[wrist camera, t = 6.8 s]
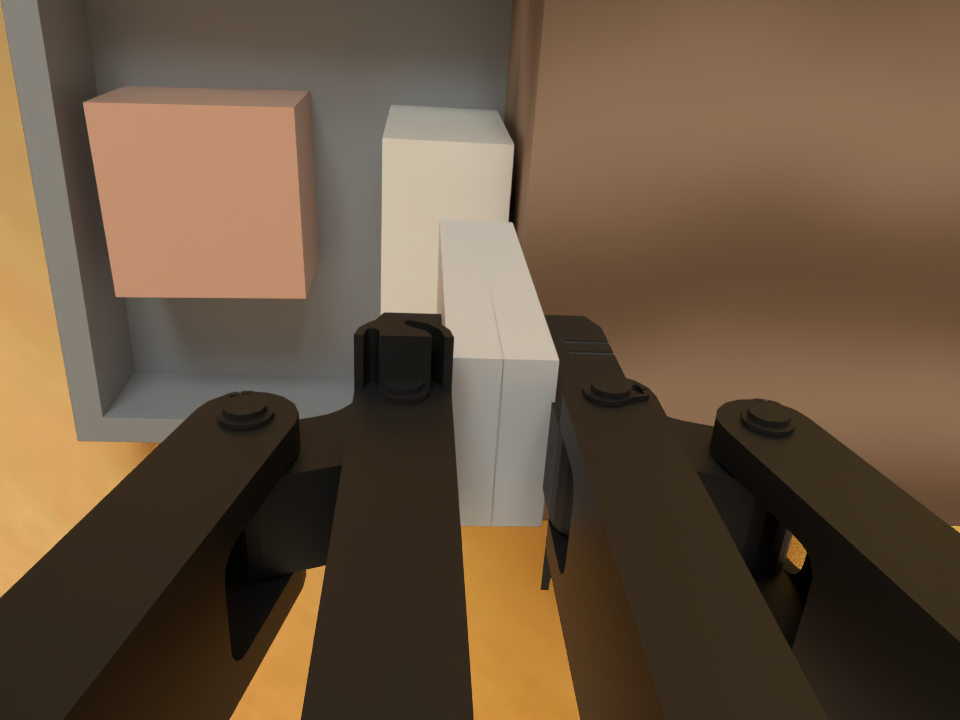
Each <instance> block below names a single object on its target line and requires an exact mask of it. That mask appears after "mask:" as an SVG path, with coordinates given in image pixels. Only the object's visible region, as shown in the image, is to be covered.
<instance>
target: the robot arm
mask: <svg viewBox="0 0 960 720" xmlns="http://www.w3.org/2000/svg"><path fill="white" fill-rule="evenodd" d="M544 498H545V501H546V506H547V510H548V515H549V521H548V530H547V538H546V547H545V556H544V565H543V574H542V583H541V590H549V583H550V579H551V578H552V582H553V587H554V592H555V597H556V602H557V607H558V612H559V616H560V621H561V626H562V631H563V636H564V641H565V646H566V651H567V656H568V661H569V666H570V671H571V676H572V681H573V686H574V691H575V696H576V701H577V705H578V710H579V715H580V720H960V533H959V532H958V531H956V530H955V529H954V528H952V527H951V526H950V525H948V524H947V523H946V522H944V521H943V520H942V519H941V518H939V517H938V516H937V515H935V514H934V513H933V512H931V511H930V510H929V509H927V508H926V507H925V506H924V505H922V504H921V503H920V502H918V501H917V500H916V499H914V498H913V497H912V496H910V495H909V494H908V493H907V492H905V491H904V490H903V489H901V488H900V487H899V486H897V485H896V484H895V483H893V482H892V481H891V480H890V479H888V478H887V477H886V476H884V475H883V474H882V473H880V472H879V471H878V470H876V469H875V468H874V467H873V466H871V465H870V464H869V463H867V462H866V461H865V460H863V459H862V458H861V457H859V456H858V455H857V454H856V453H854V452H853V451H852V450H850V449H849V448H848V447H846V446H845V445H844V444H842V443H841V442H840V441H839V440H837V439H836V438H835V437H833V436H832V435H831V434H829V433H828V432H827V431H825V430H824V429H823V428H822V427H820V426H819V425H818V424H816V423H815V422H814V421H812V420H811V419H810V418H808V417H807V416H805V415H803V414H802V413H800V412H798V411H796V410H795V409H792V408H789V407H787V406H784V405H781V404H780V403H779V402H776V401H772V400H767V401H765V399H758V398H754V399H738V400H734V401H730V402H726V403H724V404H723V405H722V406H721V407H719V408H718V409H717V413H716V418H715V423H714V426H709V425H704V424H698V423H693V422H688V421H683V420H679V419H675V418H671V417H668V416H667V415H666V413H665V411H664V409H663V408H662V406H661V404H660V402H659V400H658V398H657V396H656V395H655V394H654V393H653V392H652V391H651V390H650V389H649V388H648V387H646V386H644V385H643V384H641V383H639V382H637V381H635V380H631V379H628V378H626V377H625V375H624V373H623V371H622V369H621V367H620V365H619V363H618V361H617V359H616V357H615V355H613V350H612V348H611V346H610V344H608V340H607V338H606V336H605V334H604V332H603V330H602V328H601V327H600V326H598V325H597V324H595V323H594V322H592V321H591V320H590V319H588V318H587V317H585V316H571V315H544V314H543V311H542V308H541V305H540V302H539V299H538V296H537V293H536V290H535V287H534V284H533V281H532V278H531V275H530V273H529V270H528V267H527V264H526V261H525V258H524V255H523V252H522V249H521V246H520V243H519V240H518V237H517V234H516V231H515V228H514V225H513V222H490V221H464V220H440V224H439V252H438V280H437V309H436V314H426V313H391V312H384V313H383V314H382V315H380V316H379V317H378V318H377V319H376V320H374V321H370V322H368V323H366V324H364V325H362V326H360V327H359V328H358V329H357V331H356V332H355V333H354V395H353V401H352V403H351V404H349V405H348V406H346V407H344V408H342V409H340V410H338V411H335V412H332V413H330V414H325V415H321V416H316V417H310V418H304V419H299V412H298V410H297V408H296V406H295V404H294V403H293V402H291V401H290V400H288V399H287V398H285V397H283V396H280V395H276V394H272V393H268V392H255V391H251V390H249V391H241V392H240V393H239V392H238V391H237V392H232V393H228V394H226V395H224V396H221V397H218V398H215V399H212V400H209V401H208V402H206V403H205V404H203V405H202V406H200V407H198V408H197V409H196V410H195V411H194V412H193V413H192V414H191V415H190V416H189V417H188V418H186V419H185V420H184V421H183V422H182V423H181V424H180V425H179V426H178V427H177V428H176V429H175V430H174V431H173V432H172V433H171V434H170V435H169V436H168V437H167V438H166V439H165V440H164V441H163V442H162V443H161V444H160V445H158V446H157V447H156V448H155V449H154V450H153V451H152V452H151V453H150V454H149V455H148V456H147V457H146V458H145V459H144V460H143V461H142V462H141V463H140V464H139V465H138V466H137V467H136V468H135V469H134V470H133V471H132V472H130V473H129V474H128V475H127V476H126V477H125V478H124V479H123V480H122V481H121V482H120V483H119V484H118V485H117V486H116V487H115V488H114V489H113V490H112V491H111V492H110V493H109V494H108V495H107V496H106V497H105V498H104V499H102V500H101V501H100V502H99V503H98V504H97V505H96V506H95V507H94V508H93V509H92V510H91V511H90V512H89V513H88V514H87V515H86V516H85V517H84V518H83V519H82V520H81V521H80V522H79V523H78V524H77V525H76V526H74V527H73V528H72V529H71V530H70V531H69V532H68V533H67V534H66V535H65V536H64V537H63V538H62V539H61V540H60V541H59V542H58V543H57V544H56V545H55V546H54V547H53V548H52V549H51V550H50V551H49V552H48V553H46V554H45V555H44V556H43V557H42V558H41V559H40V560H39V561H38V562H37V563H36V564H35V565H34V566H33V567H32V568H31V569H30V570H29V571H28V572H27V573H26V574H25V575H24V576H23V577H22V578H21V579H20V580H19V581H17V582H16V583H15V584H14V585H13V586H12V587H11V588H10V589H9V590H8V591H7V592H6V593H5V594H4V595H3V596H2V597H1V598H0V720H229V719H230V718H231V716H232V714H233V712H234V710H235V709H236V707H237V705H238V703H239V701H240V700H241V698H242V696H243V694H244V692H245V691H246V689H247V687H248V685H249V683H250V682H251V680H252V678H253V676H254V675H255V673H256V671H257V669H258V667H259V666H260V664H261V662H262V660H263V658H264V657H265V655H266V653H267V651H268V649H269V648H270V646H271V644H272V642H273V640H274V639H275V637H276V635H277V633H278V631H279V630H280V628H281V626H282V624H283V622H284V621H285V619H286V617H287V615H288V613H289V612H290V610H291V608H292V606H293V604H294V603H295V601H296V599H297V597H298V596H299V594H300V592H301V590H302V588H303V585H304V582H305V578H306V569H310V568H315V567H319V566H324V565H326V568H325V574H324V580H323V586H322V593H321V599H320V605H319V611H318V617H317V623H316V630H315V636H314V642H313V648H312V654H311V660H310V667H309V673H308V679H307V685H306V691H305V697H304V704H303V710H302V716H301V720H474V718H473V703H472V688H471V673H470V658H469V643H468V629H467V614H466V599H465V584H464V569H463V554H462V539H461V526H523V527H541V526H542V517H543V508H544ZM792 535H794V536H795V537H796V538H797V539H798V540H799V541H800V543H801V544H802V545H803V547H804V548H805V549H806V552H807V554H806V558H805V561H804V565H803V567H802V569H801V570H800V569H799V568H797V567H796V566H795V565H794V564H793V563H792V562H791V561H790V560H789V559H788V558H787V553H788V549H789V546H790V542H791V538H792Z"/></svg>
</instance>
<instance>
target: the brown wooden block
mask: <svg viewBox="0 0 960 720" xmlns="http://www.w3.org/2000/svg"><path fill="white" fill-rule="evenodd" d="M504 125H505V127H506V129H507V131H508V133H509V135H510V137H511V139H512V141H513V143H514V156H513V169H512V182H511V195H510V207H509V220H508V222H513V225H514V228H515V231H516V234H517V237H518V240H519V243H520V246H521V249H522V252H523V255H524V258H525V261H526V264H527V267H528V270H529V273H530V275H531V278H532V281H533V284H534V287H535V290H536V293H537V296H538V299H539V302H540V305H541V308H542V311H543V314H544V315H571V316H585V317H587V318H588V319H590V320H591V321H592V322H594V323H595V324H597V325H598V326H600V327H601V328H602V330H603V332H604V334H605V336H606V338H607V340H608V344H610V346H611V348H612V350H613V355H615V357H616V359H617V361H618V363H619V365H620V367H621V369H622V371H623V373H624V375H625V377H626V378H628V379H631V380H635V381H637V382H639V383H641V384H643V385H644V386H646V387H648V388H649V389H650V390H651V391H652V392H653V393H654V394H655V395H656V396H657V398H658V400H659V402H660V404H661V406H662V408H663V409H664V411H665V413H666V415H667V416H668V417H671V418H675V419H679V420H683V421H688V422H693V423H698V424H704V425H709V426H714V423H715V418H716V413H717V409H718V408H719V407H721V406H722V405H723V404H724V403H726V402H730V401H734V400H738V399H754V398H758V399H765V401H767V400H772V401H776V402H779V403H780V404H781V405H784V406H787V407H789V408H792V409H795V410H796V411H798V412H800V413H802V414H803V415H805V416H807V417H808V418H810V419H811V420H812V421H814V422H815V423H816V424H818V425H819V426H820V427H822V428H823V429H824V430H825V431H827V432H828V433H829V434H831V435H832V436H833V437H835V438H836V439H837V440H839V441H840V442H841V443H842V444H844V445H845V446H846V447H848V448H849V449H850V450H852V451H853V452H854V453H856V454H857V455H858V456H859V457H861V458H862V459H863V460H865V461H866V462H867V463H869V464H870V465H871V466H873V467H874V468H875V469H876V470H878V471H879V472H880V473H882V474H883V475H884V476H886V477H887V478H888V479H890V480H891V481H892V482H893V483H895V484H896V485H897V486H899V487H900V488H901V489H903V490H904V491H905V492H907V493H908V494H909V495H910V496H912V497H913V498H914V499H916V500H917V501H918V502H920V503H921V504H922V505H924V506H925V507H926V508H927V509H929V510H930V511H931V512H933V513H934V514H935V515H937V516H938V517H939V518H941V519H942V520H943V521H944V522H946V523H947V524H948V525H950V526H960V0H513V5H512V19H511V33H510V47H509V61H508V75H507V89H506V103H505V117H504ZM542 520H549V515H548V510H547V506H546V501H545V498H544V508H543V517H542Z"/></svg>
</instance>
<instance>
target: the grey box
mask: <svg viewBox="0 0 960 720" xmlns="http://www.w3.org/2000/svg"><path fill="white" fill-rule="evenodd" d="M1 4H2V9H3V15H4V21H5V27H6V32H7V38H8V44H9V50H10V55H11V61H12V67H13V72H14V78H15V84H16V90H17V95H18V101H19V107H20V113H21V118H22V124H23V130H24V135H25V141H26V147H27V153H28V158H29V164H30V170H31V175H32V181H33V187H34V193H35V198H36V204H37V210H38V216H39V221H40V227H41V233H42V238H43V244H44V250H45V256H46V261H47V267H48V273H49V279H50V284H51V290H52V296H53V301H54V307H55V313H56V319H57V324H58V330H59V336H60V341H61V347H62V353H63V359H64V364H65V370H66V376H67V382H68V387H69V393H70V399H71V404H72V410H73V416H74V422H75V427H76V433H77V439H78V441H106V442H156V443H162V442H163V441H164V440H165V439H166V438H167V437H168V436H169V435H170V434H171V433H172V432H173V431H174V430H175V429H176V428H177V427H178V426H179V425H180V424H181V423H182V422H183V421H184V420H185V419H186V418H188V417H189V416H190V415H191V414H192V413H193V412H194V411H195V410H196V409H197V408H198V407H200V406H202V405H203V404H205V403H206V402H208V401H209V400H212V399H215V398H218V397H221V396H224V395H226V394H228V393H232V392H237V391H238V392H239V393H240V392H241V391H249V390H251V391H255V392H268V393H272V394H276V395H280V396H283V397H285V398H287V399H288V400H290V401H291V402H293V403H294V404H295V406H296V408H297V410H298V412H299V419H304V418H310V417H316V416H321V415H325V414H330V413H332V412H335V411H338V410H340V409H342V408H344V407H346V406H348V405H349V404H351V403H352V401H353V395H354V333H355V332H356V331H357V329H358V328H359V327H360V326H362V325H364V324H366V323H368V322H370V321H374V320H376V319H377V318H378V317H379V316H380V315H381V227H382V138H383V134H384V130H385V126H386V122H387V118H388V114H389V110H390V106H391V105H407V106H426V107H444V108H463V109H481V110H497V111H498V113H499V115H500V117H501V119H502V121H503V123H504V117H505V103H506V89H507V75H508V61H509V47H510V33H511V19H512V5H513V0H1ZM123 86H145V87H185V88H224V89H264V90H303V91H310V108H311V126H312V145H313V163H314V181H315V199H316V217H317V236H318V254H319V264H318V267H317V270H316V272H315V275H314V278H313V281H312V283H311V286H310V289H309V292H308V295H307V297H306V299H282V298H162V297H116V295H115V289H114V283H113V277H112V271H111V265H110V259H109V254H108V248H107V242H106V236H105V230H104V224H103V218H102V212H101V207H100V201H99V195H98V189H97V183H96V177H95V171H94V165H93V160H92V154H91V148H90V142H89V136H88V130H87V124H86V118H85V113H84V107H83V102H85V101H87V100H90V99H92V98H95V97H97V96H100V95H102V94H105V93H108V92H110V91H113V90H115V89H118V88H120V87H123Z"/></svg>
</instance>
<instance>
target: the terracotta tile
mask: <svg viewBox="0 0 960 720" xmlns="http://www.w3.org/2000/svg"><path fill="white" fill-rule="evenodd" d="M83 107H84V113H85V118H86V124H87V130H88V136H89V142H90V148H91V154H92V160H93V165H94V171H95V177H96V183H97V189H98V195H99V201H100V207H101V212H102V218H103V224H104V230H105V236H106V242H107V248H108V254H109V259H110V265H111V271H112V277H113V283H114V289H115V295H116V297H162V298H282V299H306V297H307V295H308V292H309V289H310V286H311V283H312V281H313V278H314V275H315V272H316V270H317V267H318V264H319V254H318V236H317V217H316V199H315V181H314V163H313V145H312V126H311V108H310V91H303V90H264V89H224V88H185V87H145V86H123V87H120V88H118V89H115V90H113V91H110V92H108V93H105V94H102V95H100V96H97V97H95V98H92V99H90V100H87V101H85V102H83Z"/></svg>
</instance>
